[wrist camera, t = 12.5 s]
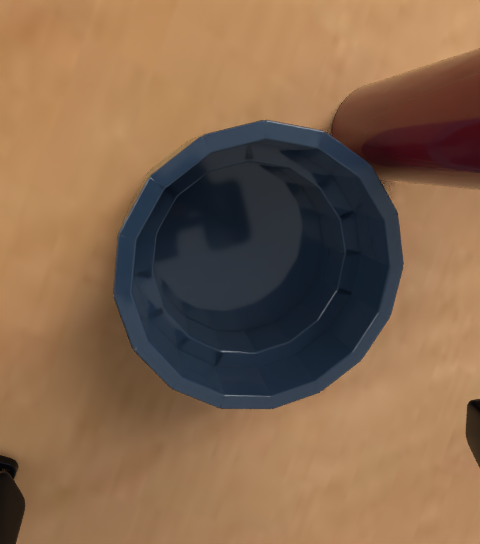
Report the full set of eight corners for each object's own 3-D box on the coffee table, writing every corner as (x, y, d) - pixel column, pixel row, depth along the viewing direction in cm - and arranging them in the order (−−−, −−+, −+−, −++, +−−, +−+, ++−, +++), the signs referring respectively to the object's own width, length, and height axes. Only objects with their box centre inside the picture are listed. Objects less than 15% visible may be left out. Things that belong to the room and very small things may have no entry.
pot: (82, 293, 18) (57, 343, 13) (197, 81, 17) (216, 51, 12) (270, 378, 22) (306, 444, 17) (379, 207, 20) (453, 223, 15)
